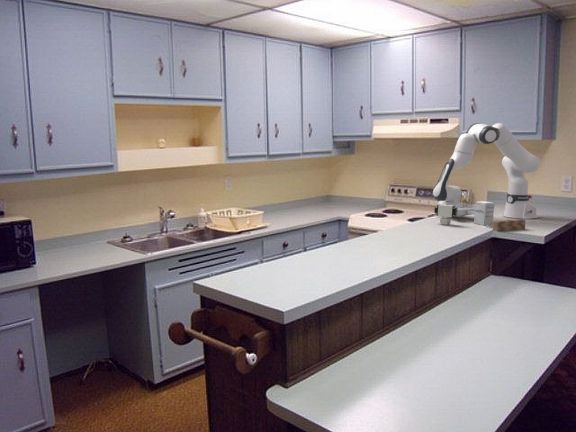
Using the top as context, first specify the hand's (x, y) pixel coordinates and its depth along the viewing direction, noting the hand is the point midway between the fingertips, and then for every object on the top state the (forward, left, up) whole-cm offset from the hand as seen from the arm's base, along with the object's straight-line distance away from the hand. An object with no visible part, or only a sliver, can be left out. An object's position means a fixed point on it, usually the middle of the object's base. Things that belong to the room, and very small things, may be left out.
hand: (476, 212), depth 295 cm
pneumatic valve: (+22, 0, -6) cm, 23 cm away
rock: (-25, -38, -6) cm, 46 cm away
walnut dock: (0, +19, -5) cm, 20 cm away
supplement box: (0, +6, -6) cm, 8 cm away
